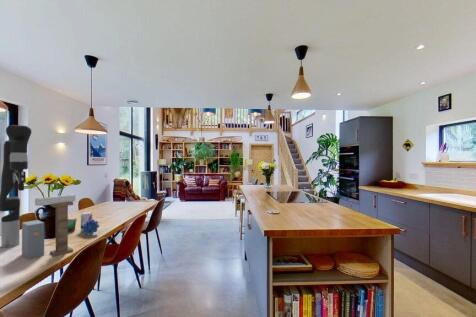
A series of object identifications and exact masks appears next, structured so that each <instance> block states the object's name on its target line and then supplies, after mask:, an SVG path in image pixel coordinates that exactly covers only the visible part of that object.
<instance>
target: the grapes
mask: <svg viewBox="0 0 476 317" xmlns="http://www.w3.org/2000/svg"><path fill="white" fill-rule="evenodd" d="M98 223H99V221H98V220H95V219H92V220H91V221H87V222H86V224H85V225H83V228H84V229H83V230H82V232H81V233H84V235H85V236H87V235H90V236H91V235H94V233H97V232H98V228H100V224H98Z"/></svg>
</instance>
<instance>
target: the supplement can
mask: <svg viewBox="0 0 476 317" xmlns="http://www.w3.org/2000/svg"><path fill="white" fill-rule="evenodd" d="M91 220H93V213H92V212H91V211H89V212H88V211H86V212H82V213H81V215H80V232H81V233H83V232H82V230H83V229H84V228H83V225H85V224H86V222H87V221H91Z"/></svg>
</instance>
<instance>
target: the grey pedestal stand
mask: <svg viewBox="0 0 476 317" xmlns="http://www.w3.org/2000/svg"><path fill="white" fill-rule="evenodd" d="M49 206H50V207H52V208H55V249H53V250H50V251H49V254H50V255H52V256H53V257H58V256H60V255H61V254H62V255H66V254H69V253H73V252H74V249H73V248H72V247H70V246H69V245H68V242H69V241H68V240H69V234H68V233H69V232H68V219H69V215H68V214H69V213H68V212H69V208H68V207H69V206H74V201H73V202H64V203H56V204H49Z"/></svg>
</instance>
